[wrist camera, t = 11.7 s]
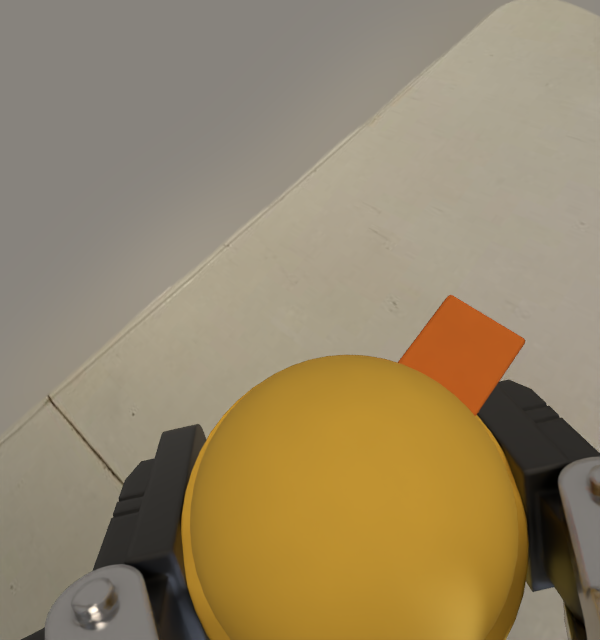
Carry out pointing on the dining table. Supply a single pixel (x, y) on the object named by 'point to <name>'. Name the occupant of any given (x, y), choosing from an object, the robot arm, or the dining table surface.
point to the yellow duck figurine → (363, 498)
